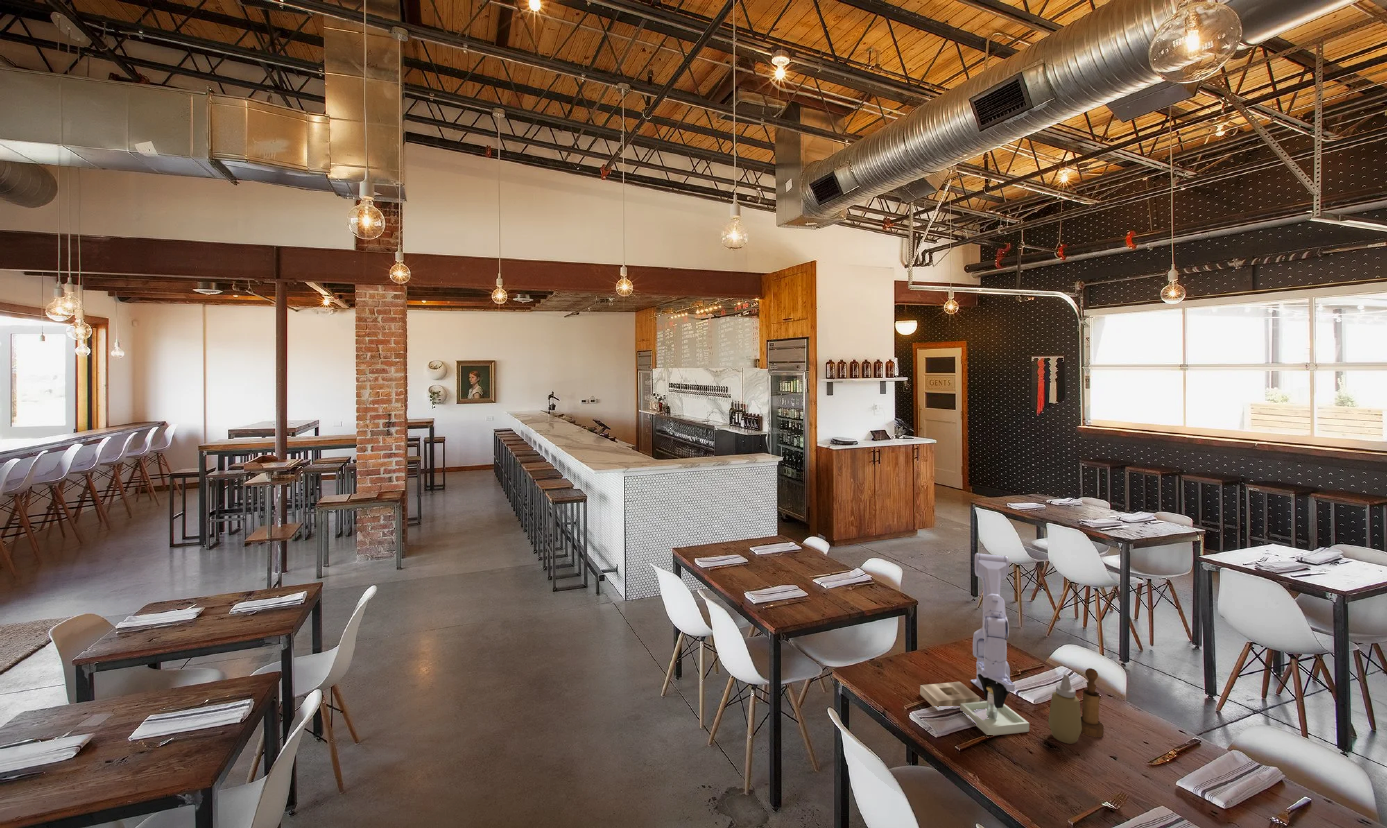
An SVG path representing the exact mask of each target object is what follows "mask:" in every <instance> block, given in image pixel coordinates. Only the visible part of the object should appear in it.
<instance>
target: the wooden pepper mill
mask: <svg viewBox="0 0 1387 828" xmlns="http://www.w3.org/2000/svg"><path fill="white" fill-rule="evenodd" d="M1084 674H1085V677H1086V679H1087V680H1088V682H1087V683H1086V688H1087V689H1082V690H1083V691H1082V713H1081V725H1082V731H1081V734H1084V735H1086V736H1089V737H1092V738H1093V737H1094V738H1101V737H1103V736H1104V735H1105V734H1104V730H1105V726H1104V725H1103V723H1101V721H1100V720H1099V715H1100V700H1101V699H1100V697H1101V696H1100V693H1099V692H1097V691H1096V689H1097V684H1095V681H1096V680H1097V679H1098V677H1099V673H1098V671H1097V670H1096V669H1095V668H1092V667H1091V668H1090V667H1089V668H1086V669H1085V673H1084Z"/></svg>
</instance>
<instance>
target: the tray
mask: <svg viewBox="0 0 1387 828" xmlns="http://www.w3.org/2000/svg"><path fill="white" fill-rule="evenodd" d="M985 708H987V700H983V701H980V702H971V703H961V704H960V709H961V710H962V711H963V712H964V713H966V714H967V715H969V716H970V717H971V718H972V719H973V720H974V721H975V722H976V723H977V725H975V726H976V727H977V728H978V729H979V730H981V731H982V732H983V733H984V734H985V735H993V736H1000V735H1011V734H1019V733H1020V734H1021V733H1028V732H1030V722H1028V720H1026V719H1025V718H1024V717H1022V716H1021V715H1019V714H1018V713H1017V712H1016V711H1014V710H1013V709H1011V708H1010V707H1009V706H1008V705H1006V704H1005V703H1004V705H1003V708H998V717H997V719H992V718H989V717H987V718H989V719H985V720H984V721H983V720H982V719H981V718H979V717H978V716H977V715H976V714H975V713H974V712H972V711H974V710H976V709H985ZM960 709H959V710H960Z"/></svg>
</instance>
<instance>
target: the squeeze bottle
mask: <svg viewBox="0 0 1387 828" xmlns="http://www.w3.org/2000/svg"><path fill="white" fill-rule="evenodd" d="M1076 693H1077V692H1076V689H1075V688H1074V687H1073V686H1071V681H1070V676H1069V675H1068V674H1063V677H1062V680H1061V683H1059V684H1057V685H1055V691H1054V692H1052V694H1051V699H1050V700H1051V701H1050V705H1049V706H1050V707H1049V715H1048V720H1047V723H1048V725H1049V729H1050V732H1051V735H1052V737H1053V738H1054V739H1056V740H1057V741H1059V742H1061V743H1065V744H1070V745H1071V744H1075V743H1077V741H1078V740H1079V738H1080V735H1081V734H1082V732H1081V731H1082V725H1081V716H1082V713H1081V703H1080V702H1081V701H1080V699H1079V698H1078V697H1077V695H1076Z"/></svg>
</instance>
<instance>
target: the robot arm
mask: <svg viewBox="0 0 1387 828" xmlns="http://www.w3.org/2000/svg"><path fill="white" fill-rule="evenodd" d="M1009 572H1010V559H1009V557H1008V556H1007V555H998V554H989V553H979V552H976V553H975V554H974V574H975V577H978V578H980V579H981V581H982V627H980V629H979V628H978V629H977V630H976V631H974V633H973V638H972V656H973V657H974V658H976V662H975V663H976V664H975V668H976V678H975V679H970V682H971V683H972V684H973V685H975V687H978V689H980V690H982V692H983V694H984V698H985V701H987V698H988V691H987V689H986V687H987V685H988V684H991V687H992V690H993V694H994V704H995V707H996V708H1003V705H1004V704H1005V701H1006V699H1007V697H1008V695H1009V693H1011V692H1015V689H1016V687H1015V686H1016V685H1015V683H1014V682H1012V681H1011V668H1010V665H1009V662H1008V661H1007V656H1008V655H1007V654H1008V653H1007V651H1008V648H1007V640H1008V639H1009V635H1010V626H1009V625H1010V624H1009V621H1008V620H1009V619H1008V617H1007V614H1006V613H1007V612H1006V601H1005V599H1004V598H1003V597H1002V596H1001V584H1002V583H1001V581H1002V580H1006V578H1007V577H1008V574H1009Z"/></svg>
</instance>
